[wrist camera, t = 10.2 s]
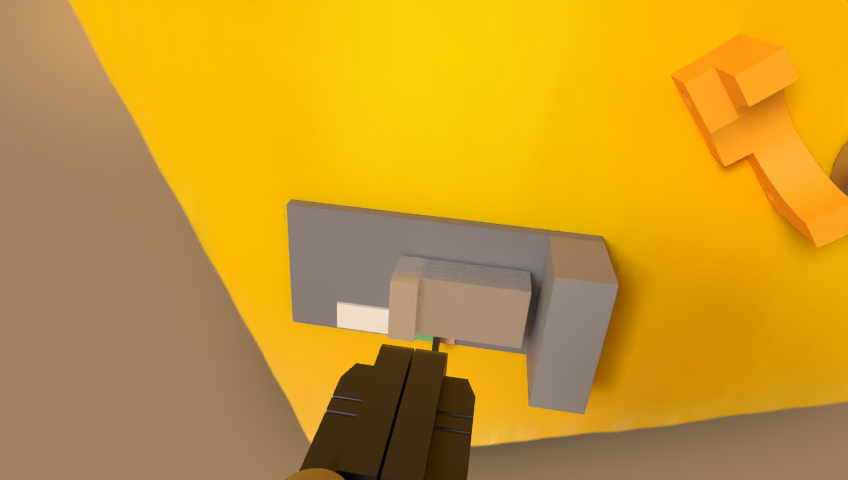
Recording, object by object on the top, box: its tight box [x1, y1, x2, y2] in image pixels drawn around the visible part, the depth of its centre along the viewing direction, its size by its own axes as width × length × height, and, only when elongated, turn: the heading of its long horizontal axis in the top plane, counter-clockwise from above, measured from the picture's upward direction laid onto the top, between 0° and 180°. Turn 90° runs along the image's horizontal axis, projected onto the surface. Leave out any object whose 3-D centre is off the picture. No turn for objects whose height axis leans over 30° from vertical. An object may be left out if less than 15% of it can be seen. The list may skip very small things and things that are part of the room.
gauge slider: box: [388, 255, 531, 352], centre depth 42 cm, size 10×8×4 cm
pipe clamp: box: [671, 34, 848, 248], centre depth 33 cm, size 12×4×6 cm, turn 36°
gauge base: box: [287, 200, 619, 414], centre depth 41 cm, size 24×11×7 cm, turn 86°
